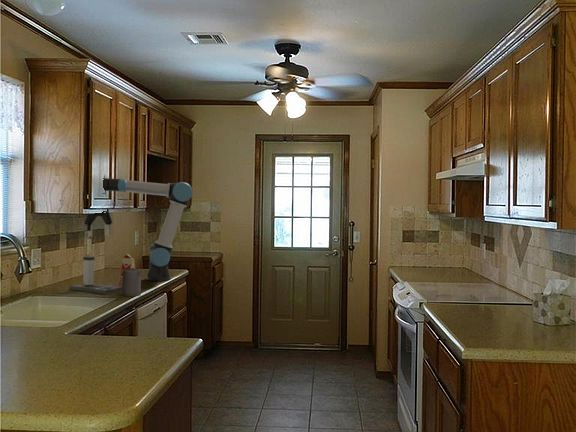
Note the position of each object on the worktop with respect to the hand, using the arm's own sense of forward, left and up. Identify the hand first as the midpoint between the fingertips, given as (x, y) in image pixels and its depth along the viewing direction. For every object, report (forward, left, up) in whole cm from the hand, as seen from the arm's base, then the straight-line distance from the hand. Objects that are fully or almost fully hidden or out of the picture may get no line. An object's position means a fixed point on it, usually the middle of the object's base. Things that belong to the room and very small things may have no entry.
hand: (98, 235), depth 340 cm
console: (-7, +23, -29) cm, 37 cm away
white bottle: (-2, +20, -26) cm, 33 cm away
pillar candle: (-30, +34, -29) cm, 54 cm away
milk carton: (-20, +7, -29) cm, 36 cm away
